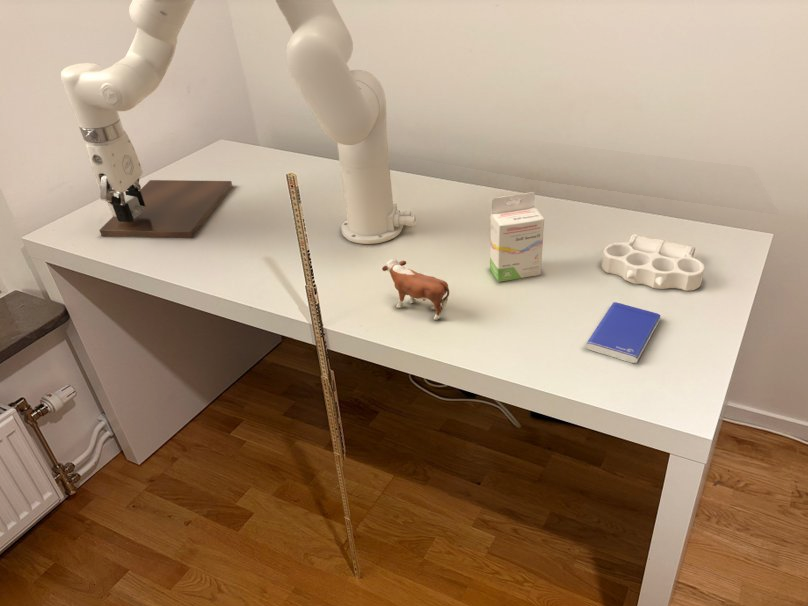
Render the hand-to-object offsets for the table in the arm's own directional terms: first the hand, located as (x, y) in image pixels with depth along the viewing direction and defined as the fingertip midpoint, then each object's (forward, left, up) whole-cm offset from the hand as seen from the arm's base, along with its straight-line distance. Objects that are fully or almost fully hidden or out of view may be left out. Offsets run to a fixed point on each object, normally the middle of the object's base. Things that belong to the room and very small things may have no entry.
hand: (132, 213), depth 146 cm
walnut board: (-4, -7, -3) cm, 9 cm away
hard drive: (-99, +33, -3) cm, 105 cm away
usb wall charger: (0, 0, -1) cm, 1 cm away
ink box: (-81, +15, -3) cm, 83 cm away
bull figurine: (-64, +27, -3) cm, 70 cm away
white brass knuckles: (-106, +13, -3) cm, 107 cm away
